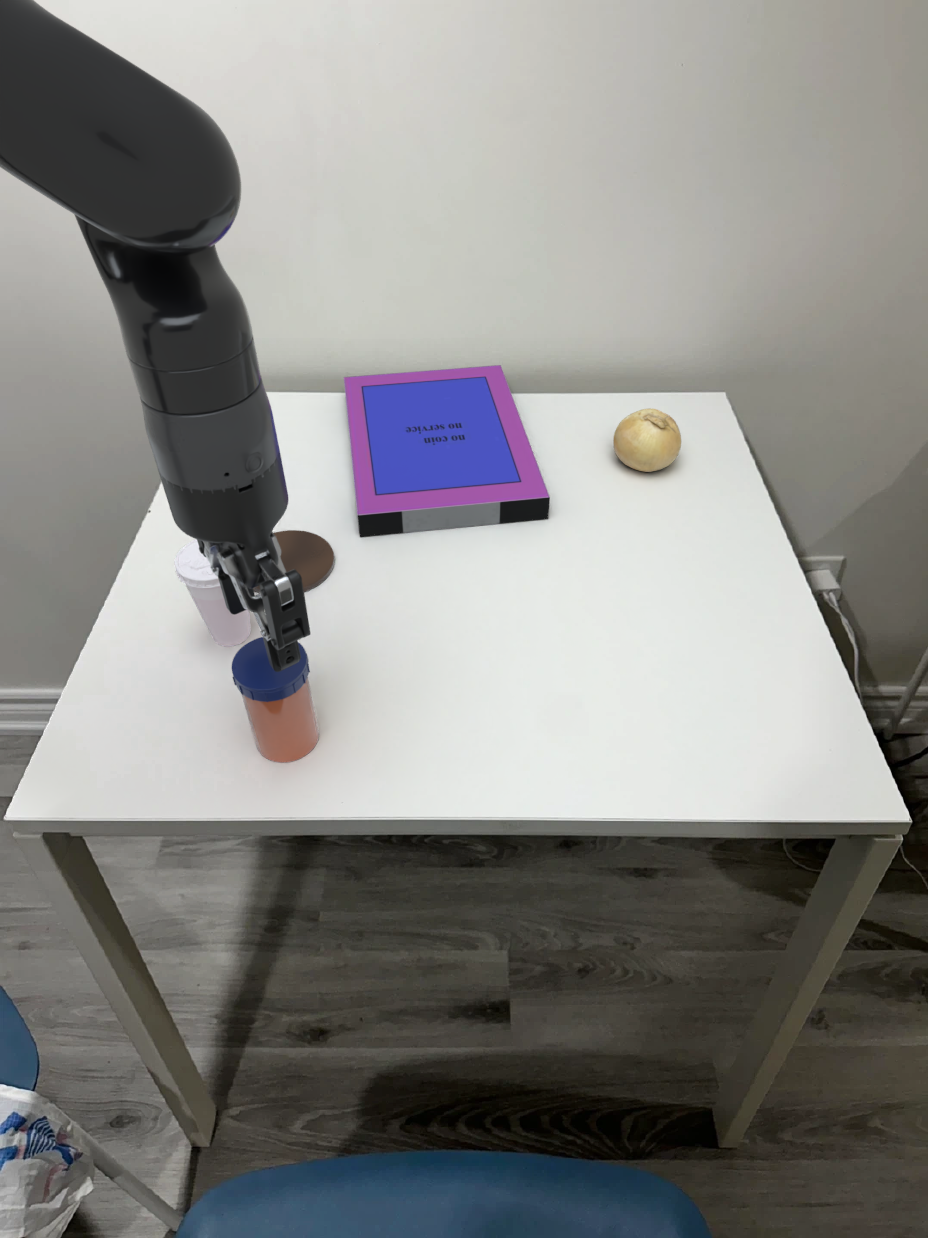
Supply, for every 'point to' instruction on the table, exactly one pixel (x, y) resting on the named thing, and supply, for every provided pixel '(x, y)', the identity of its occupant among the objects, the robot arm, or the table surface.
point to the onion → (647, 440)
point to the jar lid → (266, 673)
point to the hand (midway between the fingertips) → (263, 635)
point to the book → (440, 452)
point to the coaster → (305, 556)
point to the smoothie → (210, 597)
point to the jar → (284, 725)
